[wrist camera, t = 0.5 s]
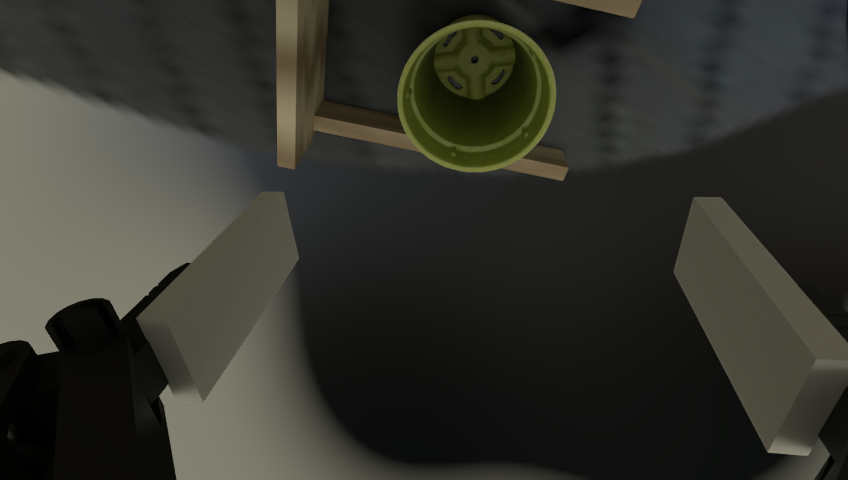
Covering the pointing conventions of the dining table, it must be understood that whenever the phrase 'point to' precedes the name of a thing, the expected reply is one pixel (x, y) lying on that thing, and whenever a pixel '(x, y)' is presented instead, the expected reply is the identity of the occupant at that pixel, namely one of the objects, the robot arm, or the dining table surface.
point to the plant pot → (476, 95)
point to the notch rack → (308, 111)
